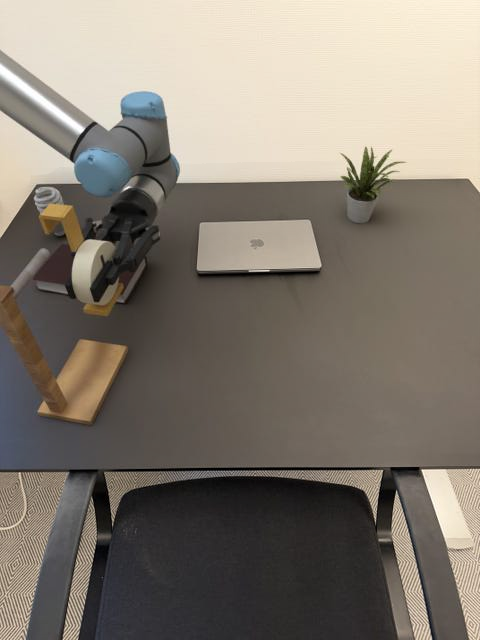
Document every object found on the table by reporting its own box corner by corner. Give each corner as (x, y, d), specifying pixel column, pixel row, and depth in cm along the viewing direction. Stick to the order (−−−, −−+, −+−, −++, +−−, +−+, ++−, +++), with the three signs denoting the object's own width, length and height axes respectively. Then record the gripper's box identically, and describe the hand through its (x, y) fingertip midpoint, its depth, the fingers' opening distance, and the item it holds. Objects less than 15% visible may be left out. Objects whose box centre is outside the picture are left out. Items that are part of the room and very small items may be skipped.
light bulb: (77, 229, 109) (62, 182, 100) (67, 243, 105) (50, 197, 97) (55, 227, 110) (38, 180, 101) (44, 241, 106) (25, 194, 97)
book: (66, 252, 103) (61, 240, 101) (148, 264, 100) (146, 252, 97) (36, 291, 95) (31, 279, 92) (125, 305, 91) (122, 293, 89)
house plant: (406, 228, 107) (425, 162, 95) (353, 243, 104) (367, 176, 92) (372, 197, 116) (385, 133, 104) (322, 209, 113) (331, 144, 101)
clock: (62, 317, 75) (24, 229, 63) (88, 276, 82) (59, 190, 69) (104, 323, 74) (74, 235, 62) (127, 281, 81) (104, 194, 68)
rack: (39, 415, 75) (-33, 297, 56) (81, 343, 85) (33, 223, 66) (92, 425, 73) (36, 308, 54) (128, 350, 84) (92, 229, 65)
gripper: (182, 228, 86) (138, 319, 71) (100, 219, 89) (39, 304, 73) (178, 192, 81) (129, 281, 65) (90, 183, 83) (22, 268, 68)
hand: (82, 293), depth 69 cm, fingers closed on clock, 3 cm apart
